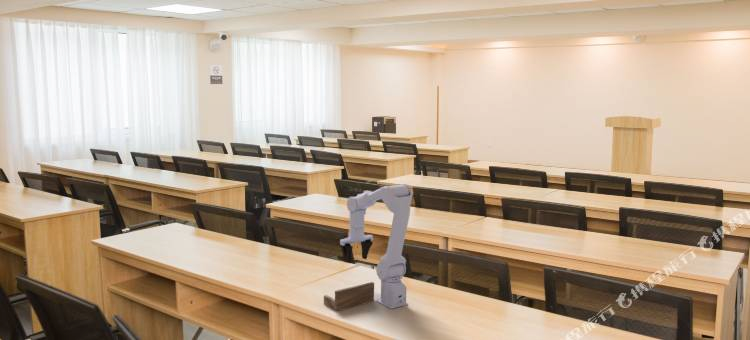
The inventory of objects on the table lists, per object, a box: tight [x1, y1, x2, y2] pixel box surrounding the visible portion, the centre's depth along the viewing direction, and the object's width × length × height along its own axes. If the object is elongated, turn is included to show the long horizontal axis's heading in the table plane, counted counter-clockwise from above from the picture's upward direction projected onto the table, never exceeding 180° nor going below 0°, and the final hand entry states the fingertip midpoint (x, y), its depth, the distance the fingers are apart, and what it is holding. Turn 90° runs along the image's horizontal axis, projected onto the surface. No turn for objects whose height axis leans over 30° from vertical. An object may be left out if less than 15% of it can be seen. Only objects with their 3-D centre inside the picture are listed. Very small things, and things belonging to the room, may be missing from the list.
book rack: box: [323, 281, 375, 312], centre depth 215 cm, size 9×16×7 cm, turn 127°
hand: (356, 260), depth 232 cm, fingers open, 7 cm apart
